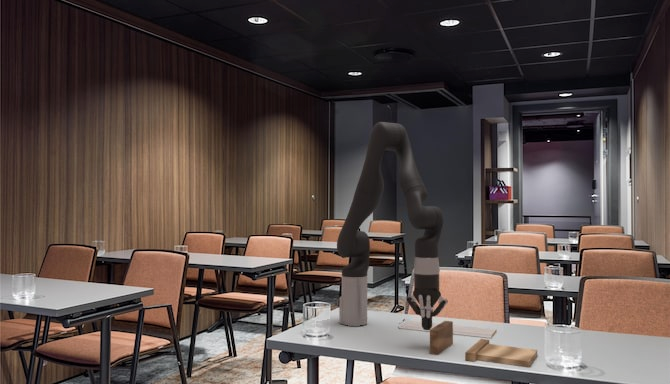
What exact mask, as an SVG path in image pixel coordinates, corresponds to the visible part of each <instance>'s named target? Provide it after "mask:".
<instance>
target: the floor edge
mask: <svg viewBox="0 0 670 384" xmlns="http://www.w3.org/2000/svg"><path fill="white" fill-rule="evenodd" d="M464 354H465V358H464V359H465V361H469V362H475V361H484V362H490V363H497V364H502V365H503V364H504V365H512V366H517V367H525V368H531V366H532V364H533V362H535V360H536V358H537V357H538V349H532V348H524V347H518V346H516V347H515V346H509V345H508V346H507V345H500V344H494V343H490V339H487V338H479V340H478V341H476V342H475V343H474V344H473V345H472V346H471V347H469V349H467V350H466V351H465V353H464Z"/></svg>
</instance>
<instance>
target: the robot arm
mask: <svg viewBox="0 0 670 384" xmlns="http://www.w3.org/2000/svg"><path fill="white" fill-rule="evenodd" d="M385 151H391V152H392V151H393V152H394V153H395V154H396V157H397V158H398V160H399V170H398V184H399V187H400V189H401V192H402V194H403V197H404V199H405V202H406V203H405V204H406V210H407V211H406V212H407V219H408V221H409V223H410V225H411V226H412V227H413V228H414V229H416V230H424V231H423V232H424V233H423V234H422V236H420V237H418V238H416V239H415V241H414V263H413V287H414V289H413V291H412V294H411V295H410V296H408V297H406V299H405V300H406V302H407V303H408V305H409V306H410V307H411V309H412V310H413V312H414V313H415V314H416V315H417V316H420V317H421V322H422V328H423V329H424V330H430V328H432V323H433V317H436V316H438V315H439V314H440V313H441V312H442V310H443V309H444V308H445V306H446V305H447V304H448V302H449V301H448V299H445V298H444V297H443V296H442V293H441V290H440V270H441V269H440V263H439V242H440V237H441V234H442V231H443V226H444V214H443V212H442V210H441V208H440V207H438V206H434V205H429V206H428V205H426V206H425V205H423V203H424V202H425V201H426V200H427V199H428V196H429V195H428V190H427V188H426V186H425V184H424V182H423V180H422V178H421V176H420V173H419V170H418V168H417V164H416V161H415V158H414V154H413V149H412V145H411V142H410V138H409V135H408V132H407V130H406V128H405V126H404V125H402V124H401V123H397V122H396V123H395V122H389V121H387V122H386V121H379V122H377V123H375V124H374V126H373V127H372V129H371V133H370V135H369V140H368V144H367V149H366V153H365V158H364V162H363V166H362V169H361V172H360V175H359V176H360V177H359V179H358V182H357V185H356V187H355V190H354V193H353V197H352V202H351V204H350V207H349V209H348V213H347V214H346V215H347V216H346V217H345V220H344V223H343V225H342V227H341V229H340V232H339V234H338V236H337V241H336V250H337V253H338V255H339V256H340V257H343V258H352V260H351V262H350V263H348V264H347V265H344V266H343V267H342V269H341V296H339V298H338V299H339V305H338V306H339V307H338V308H339V309H338V311H339V324H341V325H342V326H343V325H344V326H347V325H348V327H360V325H363V326H365V324H366V325H367V324H368V272H369V271H368V270H369V267H370V254H371V253H370V252H371V244H370V241H371V240H370V237H369V235H368V233H367V232H365V231H362V230H359V229H360V227H361V225H363V223H364V222H365V221H366V220H367V219H368V217H370V216H371V215H372V214H373V213H374V212H375V210H376V209H377V208H378V207H379V205H380V203H381V199H382V196H383V193H384V190H385V182H384V177H383V174H382V173H383V172H382V169H381V163H382V158H383V156H384V153H385ZM436 303H438V306H436V308H435V305H436Z"/></svg>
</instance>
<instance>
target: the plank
mask: <svg viewBox="0 0 670 384" xmlns="http://www.w3.org/2000/svg"><path fill="white" fill-rule="evenodd" d="M453 325H454V322H453V321H450V320H444V321H442V322H440V323H439V325H437V326H435V327H434V328H432V329H430V332H429V354H430V355H434V356H435V355H436V356H439V355H440V354H442V353H443V352H444V351H446V350H447V349H449V347H451V346H453V344H454V338H453V337H454V335H453Z"/></svg>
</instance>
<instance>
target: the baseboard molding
mask: <svg viewBox="0 0 670 384" xmlns="http://www.w3.org/2000/svg"><path fill="white" fill-rule="evenodd" d="M403 322H404V323H403ZM439 324H440V323H437V322H432V328H434V327H435V326H437V325H439ZM399 325H400V326H399ZM398 326H399V327H398V330H405V329H406V331H417V332H425V333H430V330H424V329H423V328H422V321H418V320H407V321H406V318H404V319H403V320H402V322H399V323H398ZM432 328H430V329H432ZM496 333H497V329H496V328H487V327H478V326H477V327H476V326H469V325H468V326H467V325H456V324H453V336H461V337H462V336H463V337H472V338H479V339H488V340H490V339H492V338H493V337H494V335H496Z"/></svg>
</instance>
